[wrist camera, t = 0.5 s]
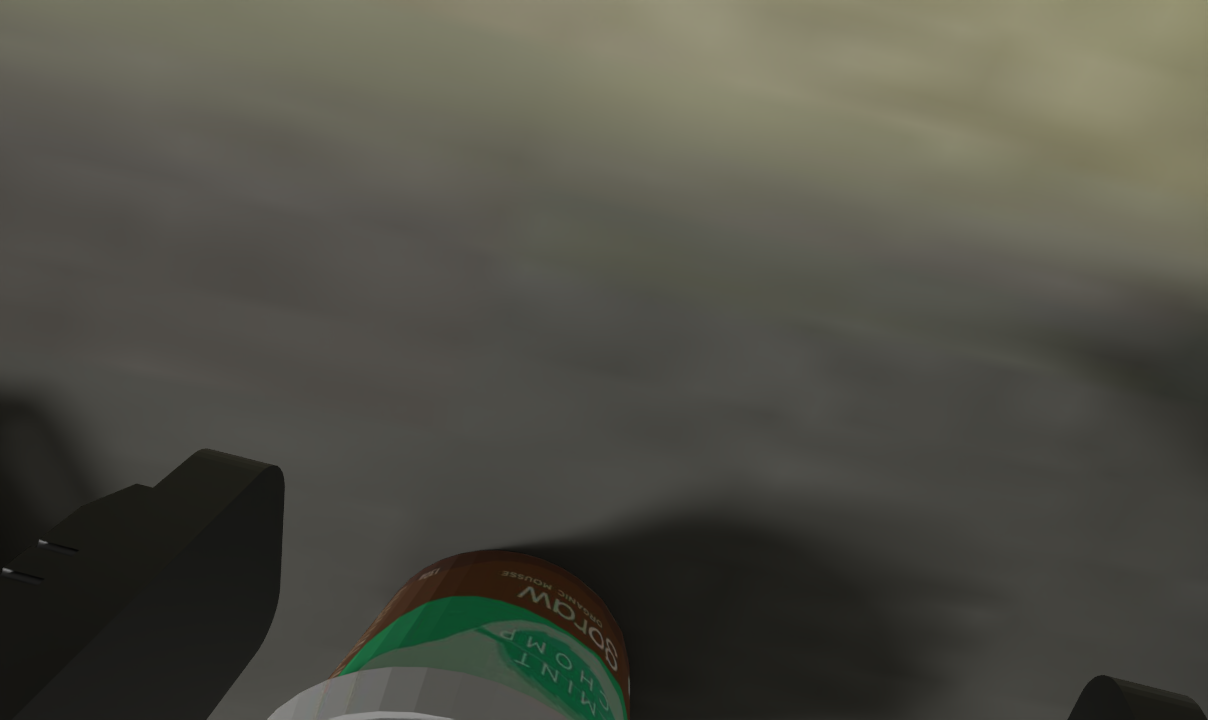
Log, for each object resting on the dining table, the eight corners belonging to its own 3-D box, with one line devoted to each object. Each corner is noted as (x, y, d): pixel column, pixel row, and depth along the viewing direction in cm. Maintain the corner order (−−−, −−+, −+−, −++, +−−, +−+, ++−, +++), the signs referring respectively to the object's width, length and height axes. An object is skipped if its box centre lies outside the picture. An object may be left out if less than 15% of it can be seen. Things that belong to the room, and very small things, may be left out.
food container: (732, 623, 32) (737, 865, 23) (647, 742, 35) (620, 1007, 25) (416, 457, 32) (290, 638, 22) (349, 589, 34) (208, 805, 24)
